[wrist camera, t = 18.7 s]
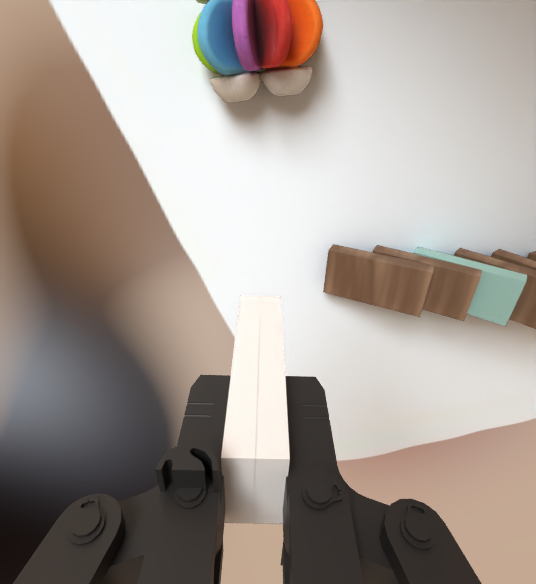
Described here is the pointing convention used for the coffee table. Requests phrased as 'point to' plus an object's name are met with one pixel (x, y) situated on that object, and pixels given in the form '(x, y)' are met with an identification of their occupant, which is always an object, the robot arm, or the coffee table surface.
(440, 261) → the domino
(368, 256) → the domino
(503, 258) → the domino
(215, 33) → the colorful disc cluster
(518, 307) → the domino
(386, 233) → the coffee table surface
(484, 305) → the teal domino
